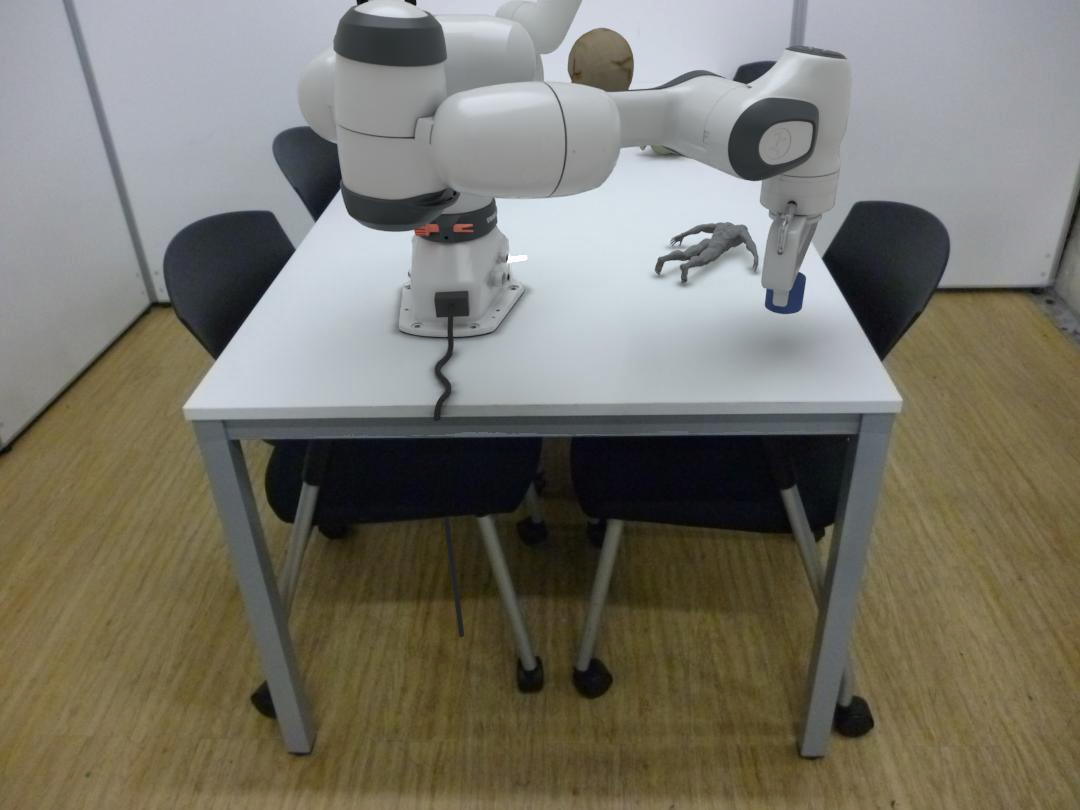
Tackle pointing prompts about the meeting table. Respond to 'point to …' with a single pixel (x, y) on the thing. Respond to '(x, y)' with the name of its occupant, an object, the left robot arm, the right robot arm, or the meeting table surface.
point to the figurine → (709, 246)
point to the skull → (601, 60)
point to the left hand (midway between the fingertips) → (784, 294)
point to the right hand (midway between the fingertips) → (388, 13)
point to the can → (794, 297)
